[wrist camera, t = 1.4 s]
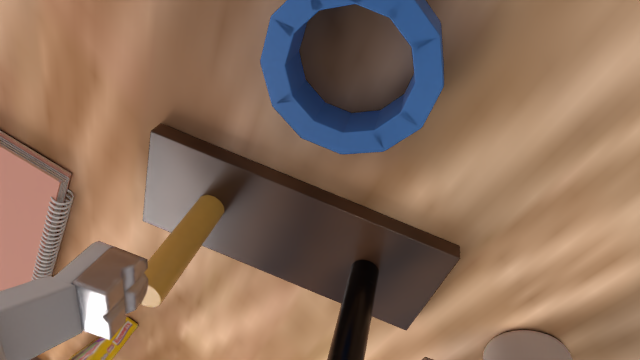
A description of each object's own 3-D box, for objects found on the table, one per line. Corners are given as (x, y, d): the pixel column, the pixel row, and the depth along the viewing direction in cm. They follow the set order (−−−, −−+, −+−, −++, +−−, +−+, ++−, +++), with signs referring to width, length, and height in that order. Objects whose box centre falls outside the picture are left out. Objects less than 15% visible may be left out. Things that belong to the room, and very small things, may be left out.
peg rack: (151, 211, 41) (64, 304, 31) (160, 122, 35) (57, 204, 26) (407, 317, 40) (396, 444, 31) (459, 245, 35) (466, 375, 25)
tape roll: (262, 98, 32) (246, 116, 29) (304, -62, 25) (288, -58, 23) (399, 154, 31) (396, 177, 29) (475, 7, 25) (479, 19, 23)
